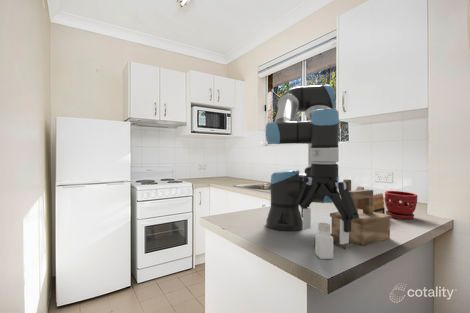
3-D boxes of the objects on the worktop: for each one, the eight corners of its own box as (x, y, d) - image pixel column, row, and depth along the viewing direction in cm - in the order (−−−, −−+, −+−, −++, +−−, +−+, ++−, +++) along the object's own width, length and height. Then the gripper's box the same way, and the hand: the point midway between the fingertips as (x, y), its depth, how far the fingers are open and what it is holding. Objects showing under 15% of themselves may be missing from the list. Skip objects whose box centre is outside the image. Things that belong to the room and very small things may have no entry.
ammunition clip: (373, 221, 110) (374, 194, 110) (369, 220, 112) (369, 194, 112) (384, 218, 117) (384, 193, 117) (380, 217, 118) (380, 192, 118)
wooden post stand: (330, 216, 90) (330, 190, 90) (358, 211, 98) (358, 187, 98) (362, 225, 79) (362, 194, 79) (391, 218, 87) (391, 191, 87)
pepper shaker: (334, 259, 69) (334, 225, 69) (320, 259, 69) (320, 226, 69) (327, 253, 73) (327, 222, 73) (314, 254, 73) (314, 222, 73)
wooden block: (364, 215, 121) (364, 179, 121) (346, 217, 118) (347, 180, 118) (358, 214, 125) (358, 178, 125) (341, 215, 121) (341, 179, 121)
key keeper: (314, 246, 79) (314, 237, 79) (332, 242, 83) (332, 233, 83) (329, 253, 73) (329, 243, 73) (348, 248, 78) (348, 238, 78)
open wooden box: (331, 235, 90) (331, 216, 90) (358, 229, 98) (358, 212, 98) (362, 246, 80) (362, 224, 80) (389, 238, 87) (389, 218, 87)
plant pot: (384, 218, 117) (384, 193, 117) (385, 212, 128) (385, 190, 128) (418, 222, 109) (418, 195, 109) (416, 216, 120) (416, 192, 120)
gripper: (285, 161, 80) (285, 225, 80) (355, 165, 58) (354, 253, 59) (302, 161, 84) (302, 222, 84) (374, 164, 62) (373, 247, 62)
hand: (323, 235), depth 71 cm, fingers open, 13 cm apart
